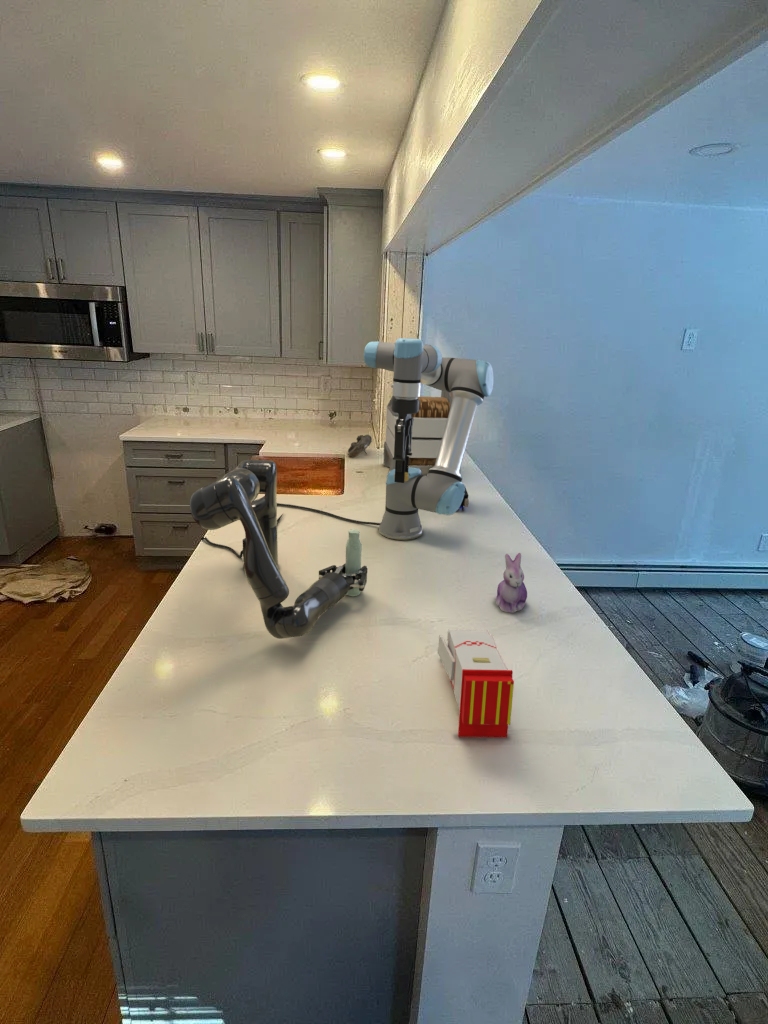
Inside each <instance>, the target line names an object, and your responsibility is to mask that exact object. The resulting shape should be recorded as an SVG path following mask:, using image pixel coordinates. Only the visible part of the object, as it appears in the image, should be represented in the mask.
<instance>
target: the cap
mask: <svg viewBox="0 0 768 1024" xmlns="http://www.w3.org/2000/svg"><path fill="white" fill-rule="evenodd" d="M394 479H395V474H394ZM408 479H409V473H408V472H405V480H404V481H408Z"/></svg>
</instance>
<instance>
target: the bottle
mask: <svg viewBox="0 0 768 1024" xmlns="http://www.w3.org/2000/svg"><path fill="white" fill-rule="evenodd" d="M362 550H363V546H362V541H361V539H360V530H359V529H355V528H354V529H349V530H348V539H347V542H346V544H345V563H344V564H345V574H348V573H350V572H356V571H359V569H361V568H362V554H363V553H362ZM357 578H358V575H357ZM360 594H361V591H359V588H353V589H351V590H348V592H347V594H346V595H345V596H349V597H357V596H359V595H360Z"/></svg>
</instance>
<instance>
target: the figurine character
mask: <svg viewBox="0 0 768 1024" xmlns="http://www.w3.org/2000/svg"><path fill="white" fill-rule="evenodd" d="M464 493H465V494H464V498H463V501H462V503H461V505H460V507H459V508H458V509H461V511H462V512H464V511H465V508H469V505H470V500H469V492H468V490H467V488H466V486H465V491H464Z"/></svg>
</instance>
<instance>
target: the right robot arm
mask: <svg viewBox="0 0 768 1024" xmlns="http://www.w3.org/2000/svg"><path fill="white" fill-rule="evenodd" d="M363 361H364V364H365V365H366V366H367V367H368V368H373V369H376V370H377V369H379V370H385V371H388V372H392V373H393V375H392V376H393V377H392V384H390V387H391V388H392V393H391V394H392V395H391V396H394V398H393V399H392V411H393V412H395V413H398V414H399V416H398V419H397V420H396V424H395V445H394V458H393V460H396V463H395V469H393V470H391V471H390V470H389V471H388V473H387V475H386V480H385V504H384V505H385V507H384V508H385V509H384V513H383V515H382V519H381V522H375V521H374V522H373V521H362V520H357V519H352V518H348V517H344V516H340V515H337V514H334V513H331V512H328V511H324V510H321V509H317V508H313V507H306V506H301V505H295V504H287V503H279V502H277V507H288V508H293V509H294V508H295V509H302V510H305V511H311V512H314V513H315V512H316V513H320V514H323V515H327V516H330V517H333V518H336V519H339V520H342V521H346V522H350V523H353V524H354V523H355V524H361V525H371V526H378V533H379V534H380V535H381V536H382V537H385V538H387V539H389V540H395V541H410V540H415V539H418V538H420V537H421V536H422V535H423V525H422V524H421V518H420V515H419V510H421V511H426V512H429V513H436V514H438V515H445V516H451V515H453V514H455V513H456V512H457V511H458V510H459V509H460V508H459V507H460V505H461V503H462V501H463V498H464V494H465V493H464V491H465V487H466V485H465V483H464V482H462V481H463V477H462V475H461V474H460V473H459V471H460V467H461V468H462V463H463V459H464V456H465V454H466V453H465V452H466V448H467V444H468V441H469V437H470V434H471V430H472V427H473V422H474V419H475V415H476V411H477V408H478V406H480V405H482V404H483V402H484V399H485V397H486V398H487V397H490V396H491V395H492V394H493V389H494V380H495V379H494V370H493V366H492V364H491V363H490V362H489V361H487V360H482V359H473V358H472V359H471V358H458V357H443V355H442V352H441V350H440V348H439V347H437V346H436V345H433V344H424V342H423V340H422V339H420V338H406V337H400V338H396V340H395V342H387V341H380V340H378V341H369V342H368V343H367V344H366V345H365V347H364V350H363ZM421 385H425V386H428V387H430V388H433V389H436V390H438V391H441V392H442V391H446V392H450V396H451V398H452V404H451V408H450V411H449V415H448V419H447V422H446V426H445V429H444V433H443V437H442V440H441V444H440V448H439V451H438V455H437V459H436V462H435V466H431V467H430V468H429V469H428V471H427V474H422V470H421V468H419V467H414V466H411V467H410V466H409V456H412V453H410V452H411V443H412V429H413V421H414V418H411V414H415V413H418V412H419V401H420V400H419V399H418V397H421V387H422V386H421ZM405 472H408V473H409V479H408V481H404V480H405ZM394 474H395V479H394Z"/></svg>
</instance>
